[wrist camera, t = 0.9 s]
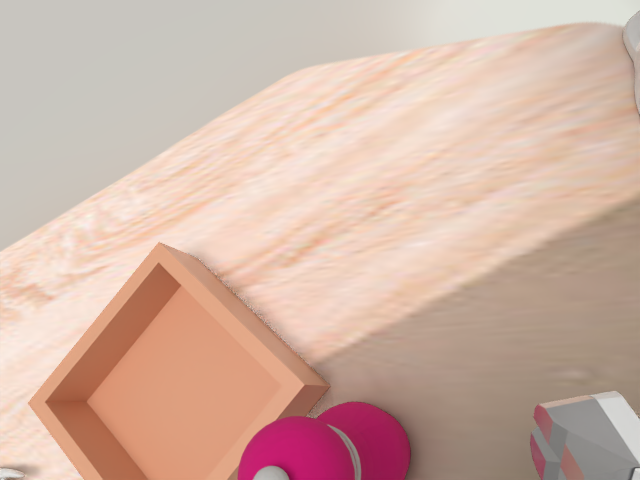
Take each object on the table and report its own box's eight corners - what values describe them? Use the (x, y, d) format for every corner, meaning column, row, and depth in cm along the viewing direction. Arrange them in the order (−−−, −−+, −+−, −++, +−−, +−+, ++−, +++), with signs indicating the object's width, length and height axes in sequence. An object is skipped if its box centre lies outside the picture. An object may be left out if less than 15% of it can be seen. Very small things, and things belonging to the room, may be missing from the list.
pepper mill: (434, 479, 43) (368, 542, 24) (346, 517, 44) (221, 605, 26) (391, 386, 45) (303, 379, 27) (310, 424, 47) (172, 442, 28)
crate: (196, 257, 54) (158, 242, 48) (330, 385, 47) (304, 384, 41) (78, 402, 54) (27, 403, 48) (195, 550, 47) (151, 571, 42)
